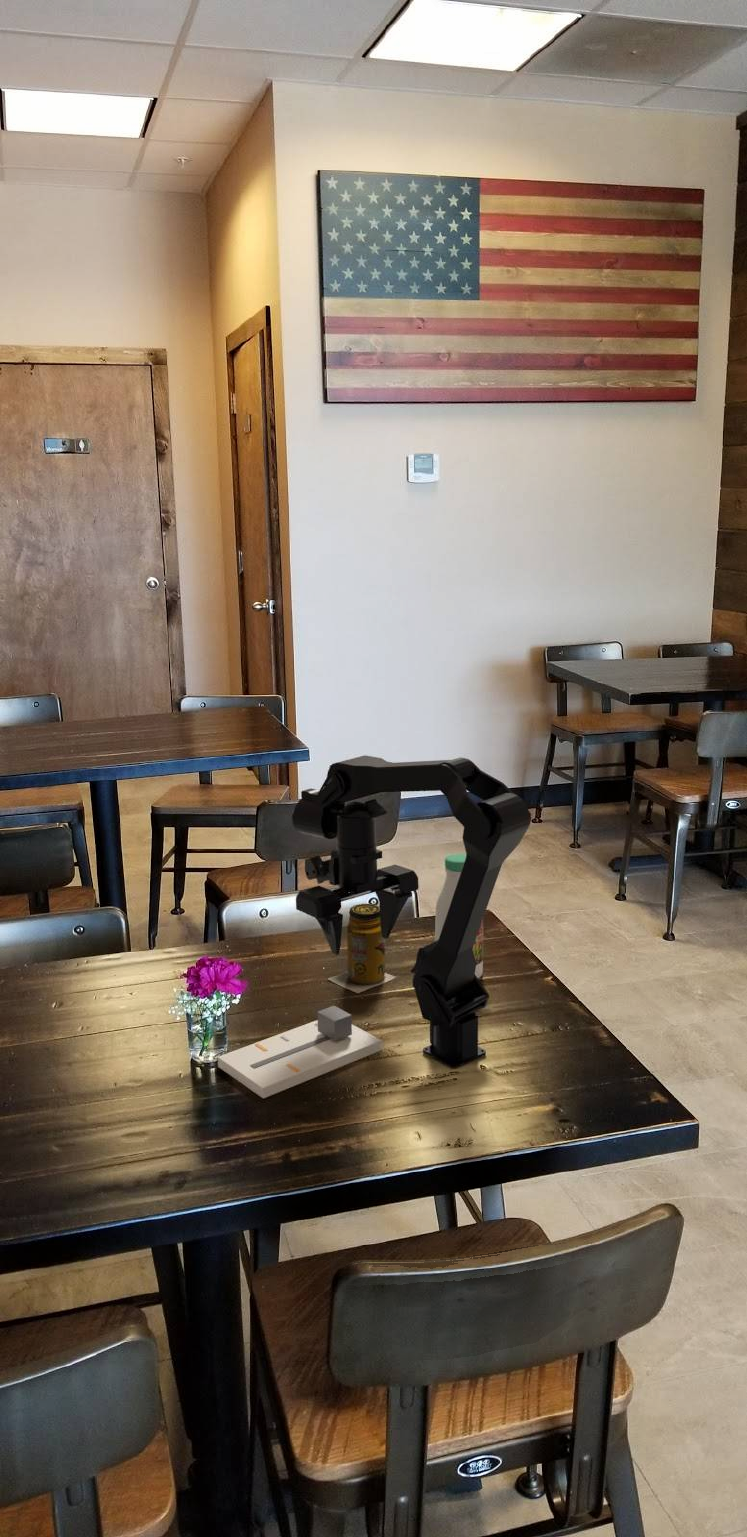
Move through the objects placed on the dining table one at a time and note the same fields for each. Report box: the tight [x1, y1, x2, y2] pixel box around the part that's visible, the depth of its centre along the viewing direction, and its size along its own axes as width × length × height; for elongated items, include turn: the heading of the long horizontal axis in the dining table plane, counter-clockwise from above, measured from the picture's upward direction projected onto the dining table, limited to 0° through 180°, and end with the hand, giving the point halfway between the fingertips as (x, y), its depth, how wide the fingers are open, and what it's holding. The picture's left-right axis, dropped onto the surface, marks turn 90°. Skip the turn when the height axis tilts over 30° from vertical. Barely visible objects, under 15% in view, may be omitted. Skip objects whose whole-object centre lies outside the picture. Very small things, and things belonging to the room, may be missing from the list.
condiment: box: [327, 903, 397, 994], centre depth 181 cm, size 7×8×12 cm
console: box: [217, 1019, 382, 1099], centre depth 157 cm, size 11×20×2 cm, turn 129°
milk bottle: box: [434, 853, 484, 980], centre depth 181 cm, size 8×8×20 cm
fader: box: [316, 1005, 353, 1041], centre depth 160 cm, size 4×3×3 cm
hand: (360, 945), depth 166 cm, fingers open, 9 cm apart
